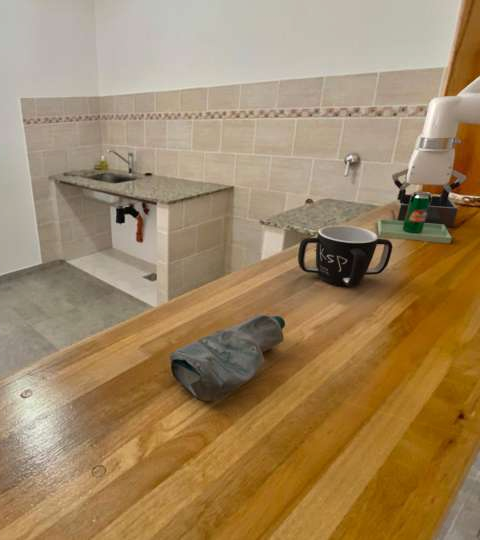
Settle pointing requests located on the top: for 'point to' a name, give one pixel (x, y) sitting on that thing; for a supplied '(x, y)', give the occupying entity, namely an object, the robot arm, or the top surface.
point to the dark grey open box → (429, 211)
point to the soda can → (417, 212)
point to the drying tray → (428, 234)
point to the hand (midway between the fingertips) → (420, 203)
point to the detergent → (226, 356)
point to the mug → (344, 254)
